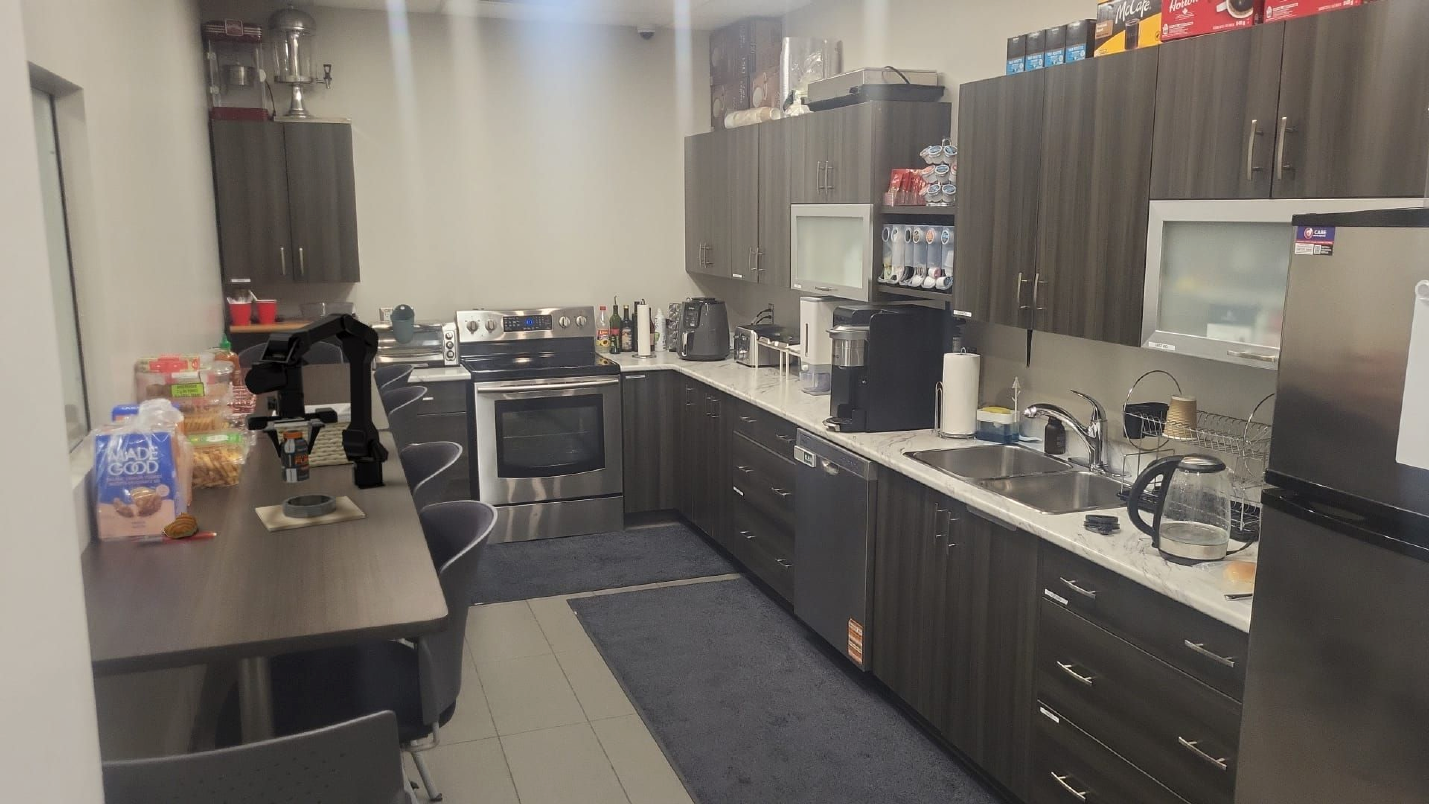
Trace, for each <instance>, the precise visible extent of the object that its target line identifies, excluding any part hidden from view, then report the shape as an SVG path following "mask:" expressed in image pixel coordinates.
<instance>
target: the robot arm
mask: <svg viewBox="0 0 1429 804" xmlns="http://www.w3.org/2000/svg"><path fill="white" fill-rule="evenodd" d="M378 333H379V332H377V331H376V330H375V328H373V327H371V326H369V325H368V324H366V323H364V322H363V321H362V322H361V321H360V320H358V319H356V318H355V317H353V316H352V315H351V314H349V313H346V312H344V313H343V312H342V313H341V312H340V313H339V312H332V313H330V314H328V315H327V316H325V317H323V318H320V319H318V320H315V321H313V322H311V323H309V324H306V325H303V326H302V327H299V328H293V329H292V328H291V329H282V330H275V331H273V332H271V333H270V334H269V338H268V340H267V342H266V343H265V346H264V349H263V351H262V353H261V354H260V355H261V356H260V357H259V361H258V362H252V363H251V369H249V370H248V371H247V373H246V375H245V378H244V384H245V387H246V389H247V391H249V393H251V394H253V395H255V396H259V395H264V394H268V393H273V392H275V393H276V395H267V396H265V409H266V411H267V412H273V411H275V412H276V415H278V416H272V415H268V416H267V414H265V412H259V413H258V412H257V413H247V414H246V415H245V416H244V423H245V427H246V429H247V430H248V431H259V430H260V431H261V433H262V434H266V435H267V436H268V438H269V439H270V441H271V443H272V446H273V448H274V451H275V453H276V456H277V458H279V459H280V458H281V451H280V445H279V440H278V434H277V430H276V428H275V427H274V426H275V424H282V423H293V422H304V421H310V422H307V424H308V441H307V443H308V455H310V454H311V451H312V448H313V446H314V443H315V440H316V437H317V435H318V433H319V431H320V429H321V428H324V427H325V424H328V423H337V422H338V415H337V412H336V411H335V410H333V409H332V408H331V407H328V408H316V409H315V412H313V413H305V406H306V405H305V402H306V401H305V391H304V390H305V387H304V372H303V367H305V366H309V365H310V363H309V361H308V360H306V359H305V358H304V355H306V354H307V353H309V352H310V351H311V348H312V347H313V346H314V345H315V344H318V343H319V342H322V341H324V340H326V339H328V338H330V337H334V338H336V340H338V342H340V343H341V347H342V349H341V350H342V353H343V355H344V357H345V358H346V361H347V362H348V364H349V394H350V395H349V396H350V397H349V400H350V402H349V403H350V412H351V421H350V424H349V425H348V427H347V429H343V430H342V446H343V449H344V452H345V454H346V457H347V460H348V461H354V463H353V466H352V467H351V478H352V479H351V480H352V481H351V482H352V484H353V485H354V486H355V487H356V488H357V489H367V488H375V487H383V486H384V487H385V485H386V483H385V482H384V475H383V464H384V463H385V462H386V461H388V457H389V451H388V450H387V448H386V447H385V446H384V445H383V444H382V443H381V440H380V432H379V431H378V430H379V429H377V427H376V425H375V424H374V422H373V413H372V411H373V406H372V403H373V401H372V362H373V361H374V359H375V357H376V355H377V354H378V351H379V350H378V349H379V340H380V339H379V334H378Z"/></svg>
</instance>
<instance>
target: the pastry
mask: <svg viewBox="0 0 1429 804" xmlns="http://www.w3.org/2000/svg"><path fill="white" fill-rule="evenodd" d="M197 528H198V523H197V519H196V517H195V516H193V515H192V514H189V513H187V512H182V511H181V515H179V516H178V517H177V518H176V520H175V521H174V522H172V523H171V524H169V525H168V526H166V527H165V528H164V531H165V533H166V534H167V535H168V536H170V537H169V538H170V539H179V538H181V537H183V538H184V537H191V535H193V534H195V533H196V532H197ZM194 532H195V533H194ZM168 536H167V537H168Z"/></svg>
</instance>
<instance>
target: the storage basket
mask: <svg viewBox="0 0 1429 804" xmlns="http://www.w3.org/2000/svg"><path fill="white" fill-rule="evenodd" d="M328 407H331V408H332V409H333V410H335V411H336V412H337V415H338V422H337V423H328V424H325V427H324V428H321V429H320V431H319V433H318V435H317V437H316V440H315V443H314V446H313V448H312V451H311V454H310V455H308V458H309V468H313V467H314V468H315V467H318V466H319V467H320V466H337V465H340V464H341V465H342V464H343V465H344V464H346V465H347V464H352V463H353V464H354V461H348V460H347V457H346V454H345V452H344V449H343V446H342V430H343V429H347V427H348V425H349V424H350V421H351V412H350V402H345V403H344V402H342V403H329V404H328V403H327V404H312V405H310V404H309V405H305V413H313V412H315V409H316V408H328ZM271 416H278V415H276V412H275V411H272V414H271ZM307 422H310V421H304V422H293V423H282V424H275V426H274V427H275V428H276V430H277V434H278V440H279V445H280V443H281V442H282V441H283V440H284V438H283V432H284V431H288V430H301V431H302V435H303V437H302V438H303V439H304V440H306V441H308V424H307Z"/></svg>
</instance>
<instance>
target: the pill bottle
mask: <svg viewBox="0 0 1429 804" xmlns="http://www.w3.org/2000/svg"><path fill="white" fill-rule="evenodd" d="M302 437H303V435H302V431H301V430H288V431H284V432H283V438H284V440H283V441H282V442H281V443H280V451H281V458H279V461H280V462H279V463H280V476H281V477H280V478H281V481H282V482H283V483H287V484H289V483H291V484H292V483H294V484H295V483H302V482H306V481H308V480H309V479H310V467H309V458H308V443H307V441H306V440H304V439H303V438H302Z"/></svg>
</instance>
